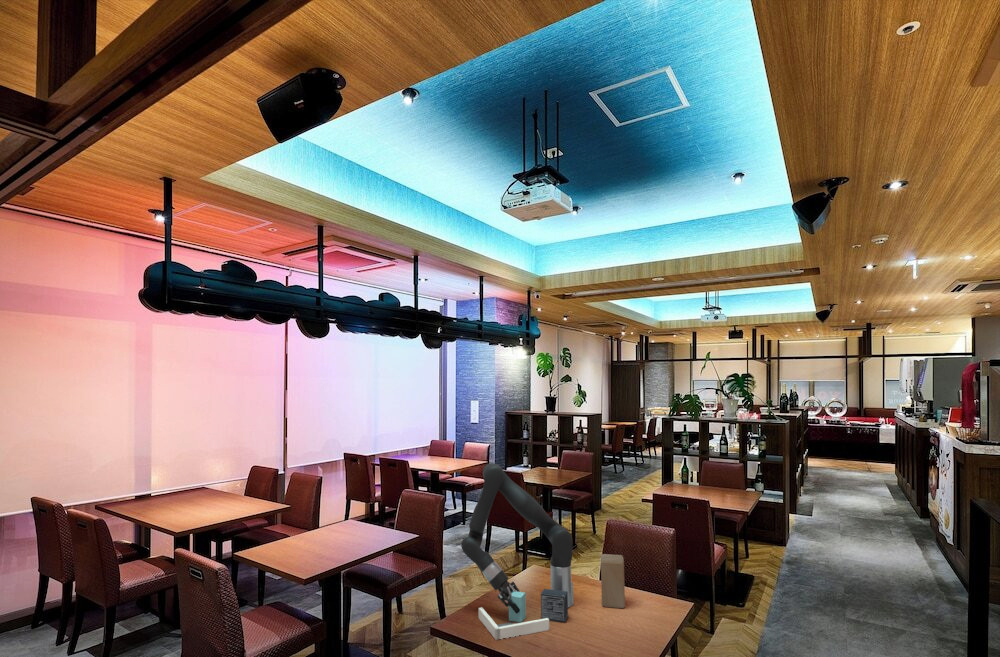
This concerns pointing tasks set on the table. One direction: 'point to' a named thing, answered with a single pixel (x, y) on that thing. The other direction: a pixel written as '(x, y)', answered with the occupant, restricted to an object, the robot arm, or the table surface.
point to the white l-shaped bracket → (512, 626)
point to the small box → (554, 605)
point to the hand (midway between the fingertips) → (521, 609)
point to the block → (612, 581)
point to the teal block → (520, 601)
